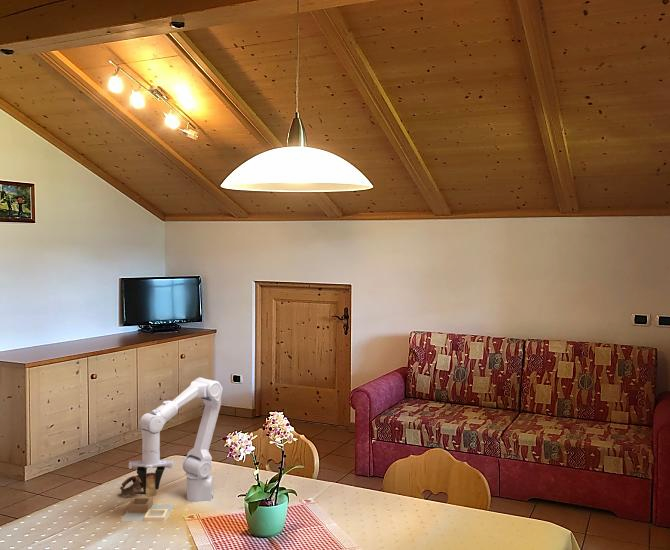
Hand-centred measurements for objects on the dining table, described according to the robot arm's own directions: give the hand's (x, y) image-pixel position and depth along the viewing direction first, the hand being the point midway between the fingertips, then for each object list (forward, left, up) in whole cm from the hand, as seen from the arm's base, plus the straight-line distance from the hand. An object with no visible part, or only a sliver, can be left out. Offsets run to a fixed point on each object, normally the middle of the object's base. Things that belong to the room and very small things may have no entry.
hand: (151, 488), depth 228 cm
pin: (0, 0, -2) cm, 2 cm away
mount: (+1, -1, -10) cm, 10 cm away
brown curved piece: (+10, -20, -10) cm, 24 cm away
